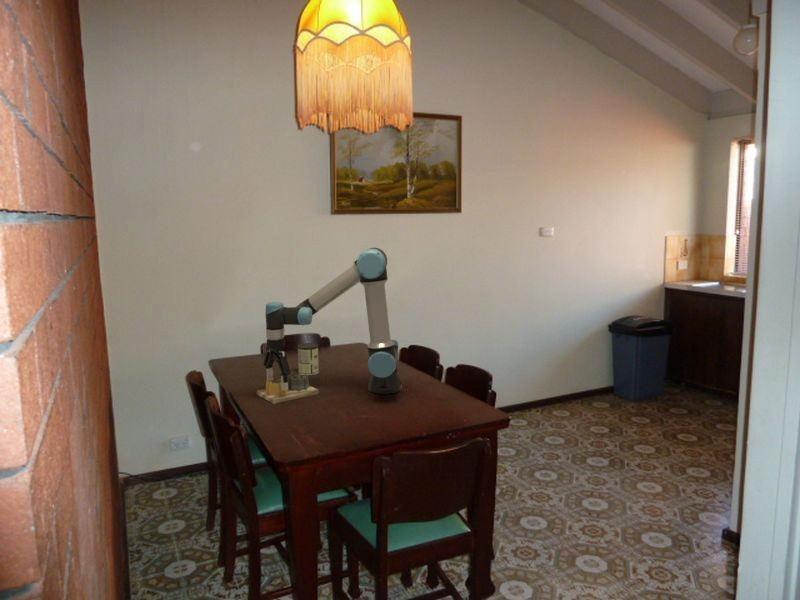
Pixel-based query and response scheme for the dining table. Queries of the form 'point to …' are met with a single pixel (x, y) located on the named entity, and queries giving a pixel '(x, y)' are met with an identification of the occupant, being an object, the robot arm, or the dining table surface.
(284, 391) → the gear
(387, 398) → the dining table surface
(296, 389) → the gear board
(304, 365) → the coffee can
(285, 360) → the robot arm
